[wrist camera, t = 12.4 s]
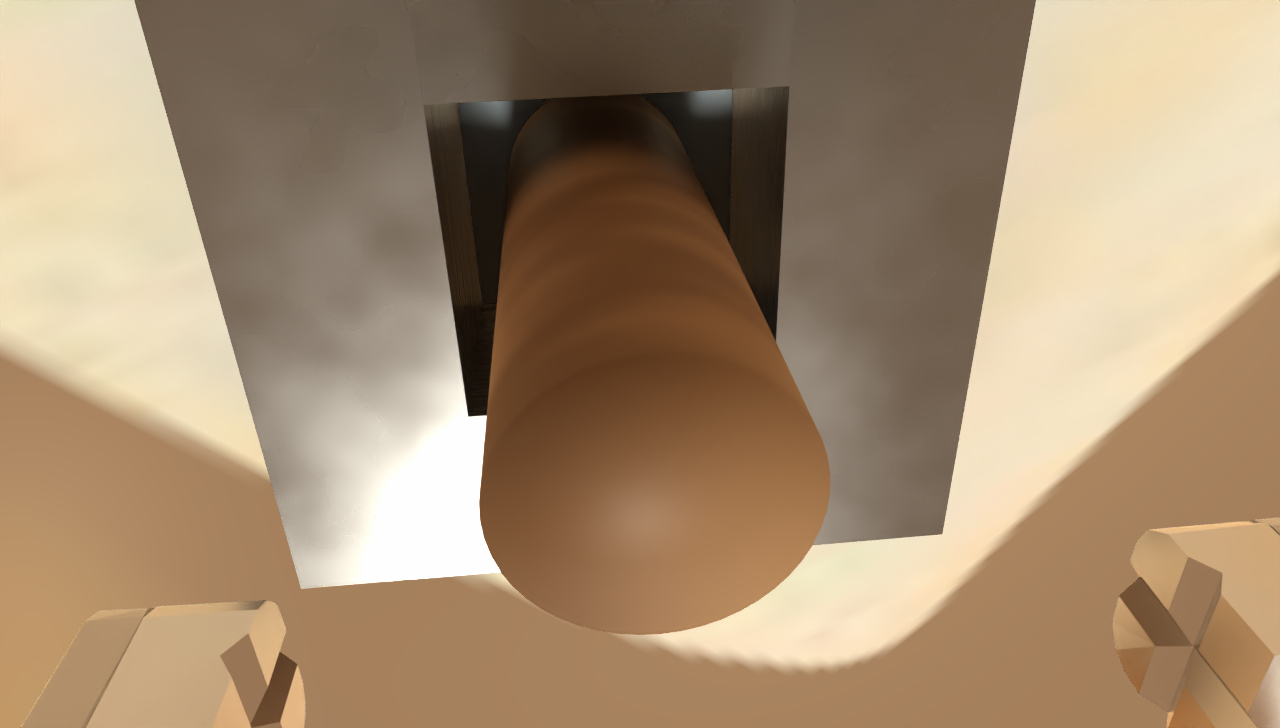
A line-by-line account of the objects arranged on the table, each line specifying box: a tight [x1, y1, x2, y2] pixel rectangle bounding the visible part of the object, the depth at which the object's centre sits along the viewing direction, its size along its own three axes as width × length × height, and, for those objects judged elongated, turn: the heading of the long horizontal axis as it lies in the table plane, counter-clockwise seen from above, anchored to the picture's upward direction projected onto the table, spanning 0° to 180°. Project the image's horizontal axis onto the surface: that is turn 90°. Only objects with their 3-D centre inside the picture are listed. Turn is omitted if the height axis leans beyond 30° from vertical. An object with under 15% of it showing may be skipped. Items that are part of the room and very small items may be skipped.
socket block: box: [135, 0, 1036, 589], centre depth 19 cm, size 14×14×5 cm
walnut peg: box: [479, 94, 830, 635], centre depth 16 cm, size 4×4×12 cm
